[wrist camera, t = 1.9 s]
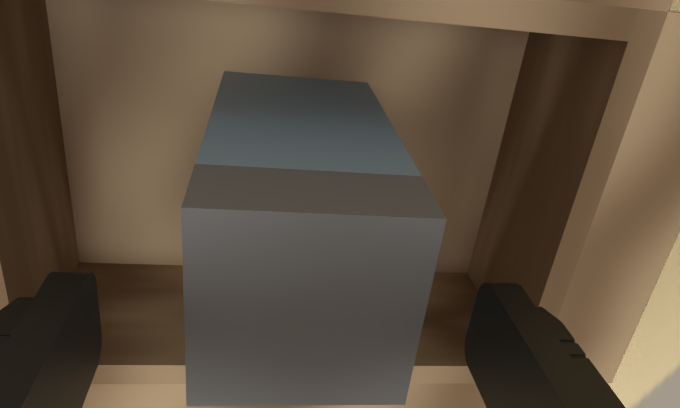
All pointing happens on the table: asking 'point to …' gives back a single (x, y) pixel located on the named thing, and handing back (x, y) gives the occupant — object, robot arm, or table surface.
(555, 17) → the open carton
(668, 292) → the table surface
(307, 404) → the capped block
